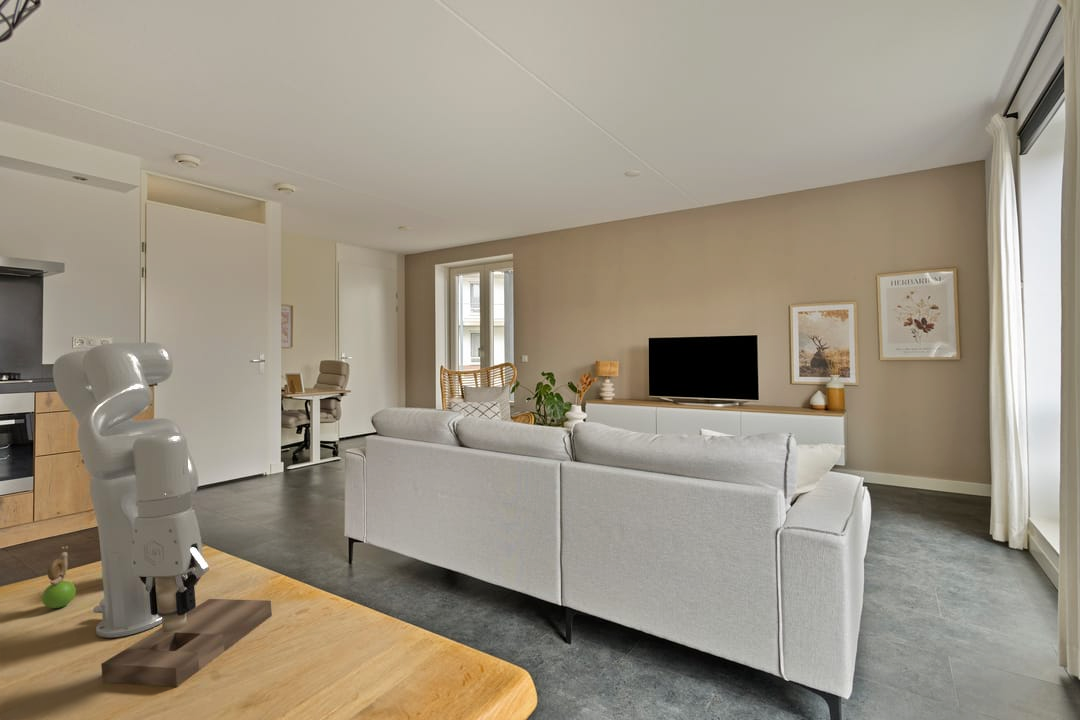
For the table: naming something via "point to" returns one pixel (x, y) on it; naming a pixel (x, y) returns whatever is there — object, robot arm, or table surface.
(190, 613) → the walnut board
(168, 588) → the beech leg
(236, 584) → the table surface
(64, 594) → the snail figurine
